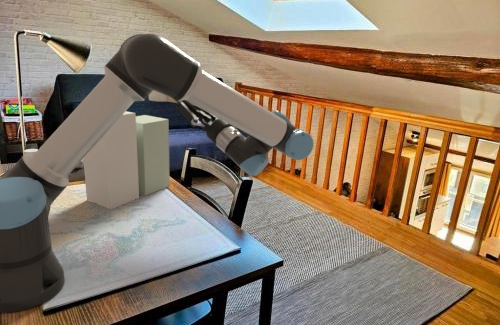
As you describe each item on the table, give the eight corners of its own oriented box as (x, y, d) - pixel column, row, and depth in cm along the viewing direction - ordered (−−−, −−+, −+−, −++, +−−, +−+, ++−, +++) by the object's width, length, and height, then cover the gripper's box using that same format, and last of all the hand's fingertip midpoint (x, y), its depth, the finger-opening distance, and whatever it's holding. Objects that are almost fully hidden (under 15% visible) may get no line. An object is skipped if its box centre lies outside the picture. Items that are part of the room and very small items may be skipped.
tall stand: (139, 198, 126) (135, 113, 117) (110, 209, 116) (103, 117, 108) (116, 190, 132) (111, 108, 123) (87, 200, 122) (79, 112, 114)
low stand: (169, 186, 139) (168, 119, 131) (145, 195, 129) (143, 123, 121) (147, 179, 144) (145, 115, 137) (123, 187, 135) (119, 118, 127)
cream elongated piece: (207, 104, 113) (207, 84, 111) (190, 106, 106) (190, 86, 104) (161, 97, 123) (161, 79, 121) (143, 99, 116) (142, 80, 115)
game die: (82, 177, 153) (87, 162, 148) (60, 171, 150) (65, 156, 144) (86, 161, 160) (91, 147, 154) (65, 156, 156) (70, 141, 150)
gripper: (244, 121, 111) (193, 77, 118) (212, 129, 99) (158, 79, 106) (233, 140, 115) (185, 96, 122) (202, 149, 103) (150, 100, 109)
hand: (173, 88), depth 114 cm, fingers closed on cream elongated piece, 2 cm apart
